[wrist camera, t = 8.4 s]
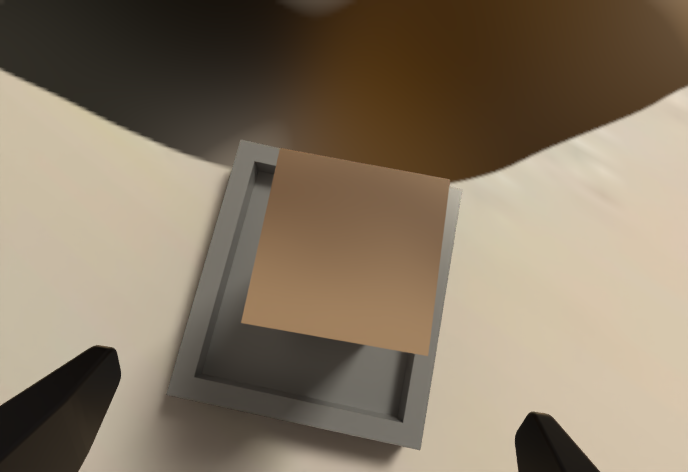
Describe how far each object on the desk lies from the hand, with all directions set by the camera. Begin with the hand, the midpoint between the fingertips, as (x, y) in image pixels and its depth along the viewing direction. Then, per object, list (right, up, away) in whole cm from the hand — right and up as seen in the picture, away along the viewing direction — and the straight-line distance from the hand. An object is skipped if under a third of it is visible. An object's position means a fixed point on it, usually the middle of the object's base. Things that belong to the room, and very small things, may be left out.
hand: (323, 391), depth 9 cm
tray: (-1, +1, +14) cm, 14 cm away
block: (0, +1, +13) cm, 13 cm away
